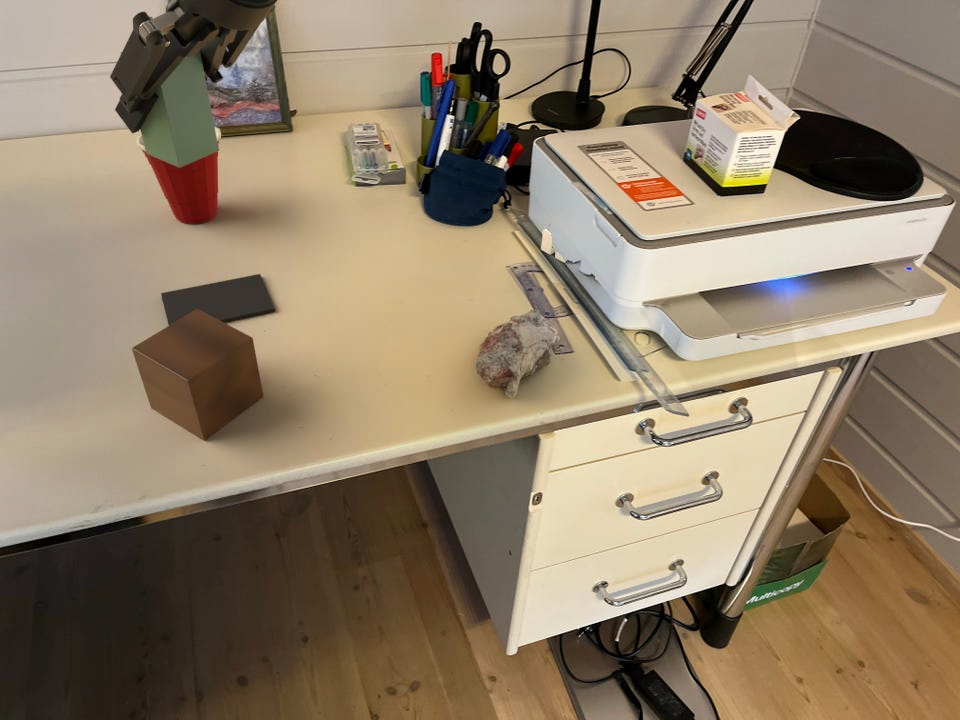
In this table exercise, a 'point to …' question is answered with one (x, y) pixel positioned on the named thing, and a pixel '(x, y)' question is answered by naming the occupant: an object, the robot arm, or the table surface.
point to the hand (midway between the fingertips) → (151, 111)
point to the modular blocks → (549, 245)
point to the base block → (199, 373)
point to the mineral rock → (515, 351)
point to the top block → (181, 117)
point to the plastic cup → (188, 185)
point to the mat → (220, 300)
